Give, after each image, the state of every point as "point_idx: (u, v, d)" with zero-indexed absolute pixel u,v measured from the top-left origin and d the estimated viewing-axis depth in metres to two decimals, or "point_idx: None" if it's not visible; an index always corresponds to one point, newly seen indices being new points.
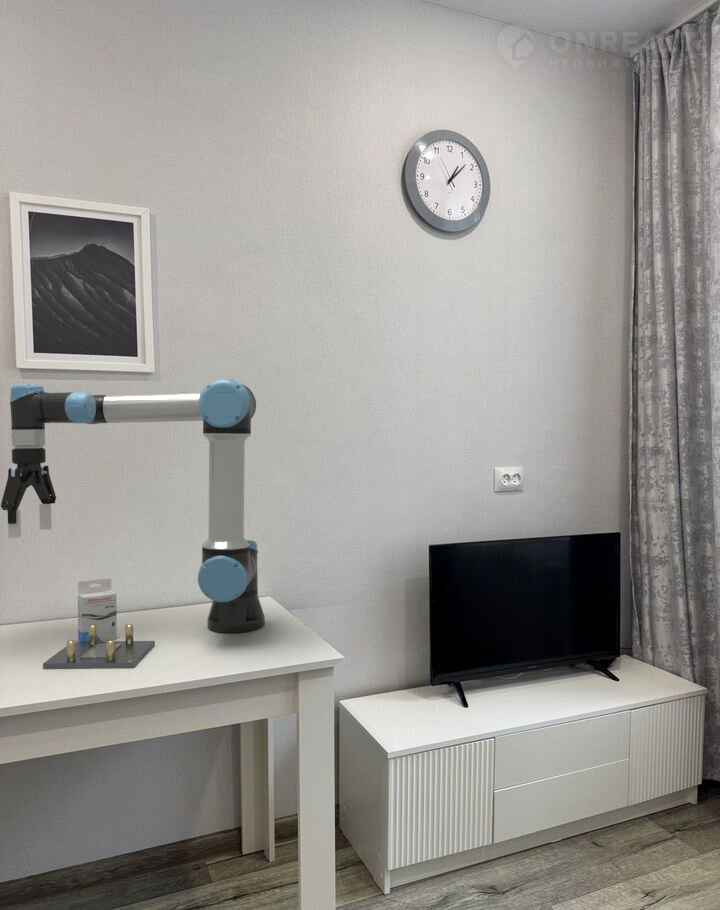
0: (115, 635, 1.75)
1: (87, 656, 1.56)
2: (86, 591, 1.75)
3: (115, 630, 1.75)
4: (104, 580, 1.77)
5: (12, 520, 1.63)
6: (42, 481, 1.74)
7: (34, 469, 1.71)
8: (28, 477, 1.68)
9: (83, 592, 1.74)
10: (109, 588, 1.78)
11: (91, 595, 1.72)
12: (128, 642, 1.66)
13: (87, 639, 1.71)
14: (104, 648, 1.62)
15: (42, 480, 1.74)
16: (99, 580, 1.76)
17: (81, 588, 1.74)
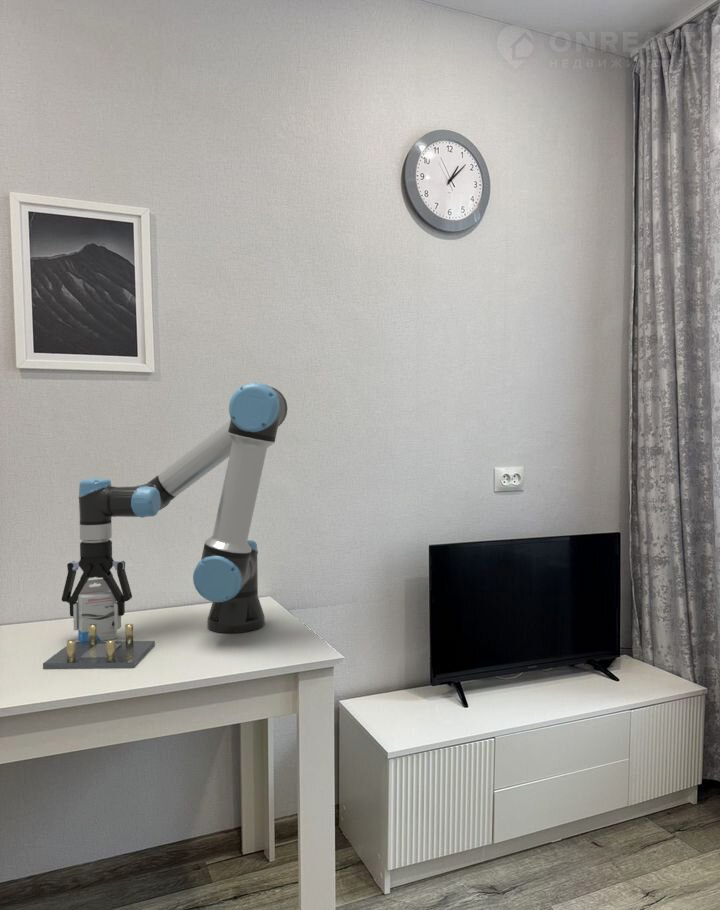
0: (115, 635, 1.75)
1: (87, 656, 1.56)
2: (86, 591, 1.75)
3: (115, 630, 1.75)
4: None
5: None
6: (104, 576, 1.72)
7: (97, 560, 1.73)
8: None
9: (83, 592, 1.74)
10: (109, 588, 1.78)
11: (91, 595, 1.72)
12: (128, 642, 1.66)
13: (87, 639, 1.71)
14: (104, 648, 1.62)
15: (104, 575, 1.72)
16: (99, 580, 1.76)
17: None
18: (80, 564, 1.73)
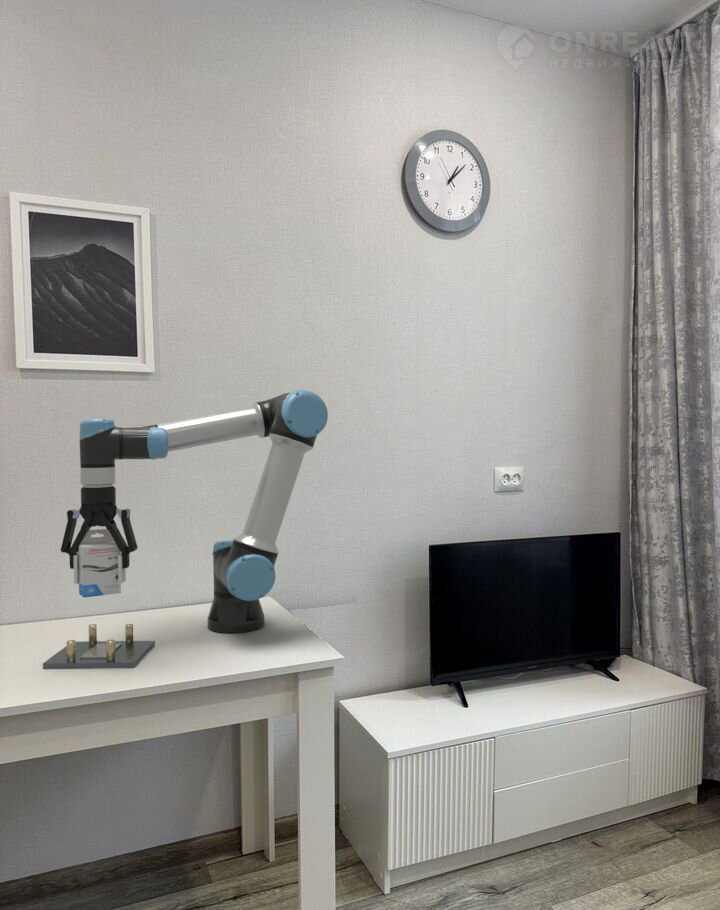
0: (119, 589, 1.60)
1: (87, 656, 1.56)
2: (87, 541, 1.61)
3: (119, 584, 1.60)
4: (107, 530, 1.63)
5: None
6: (107, 525, 1.58)
7: (99, 507, 1.58)
8: None
9: (84, 542, 1.60)
10: (112, 539, 1.64)
11: (93, 545, 1.58)
12: (128, 642, 1.66)
13: (88, 593, 1.56)
14: (104, 648, 1.62)
15: (107, 524, 1.58)
16: (102, 530, 1.62)
17: None
18: (81, 511, 1.58)
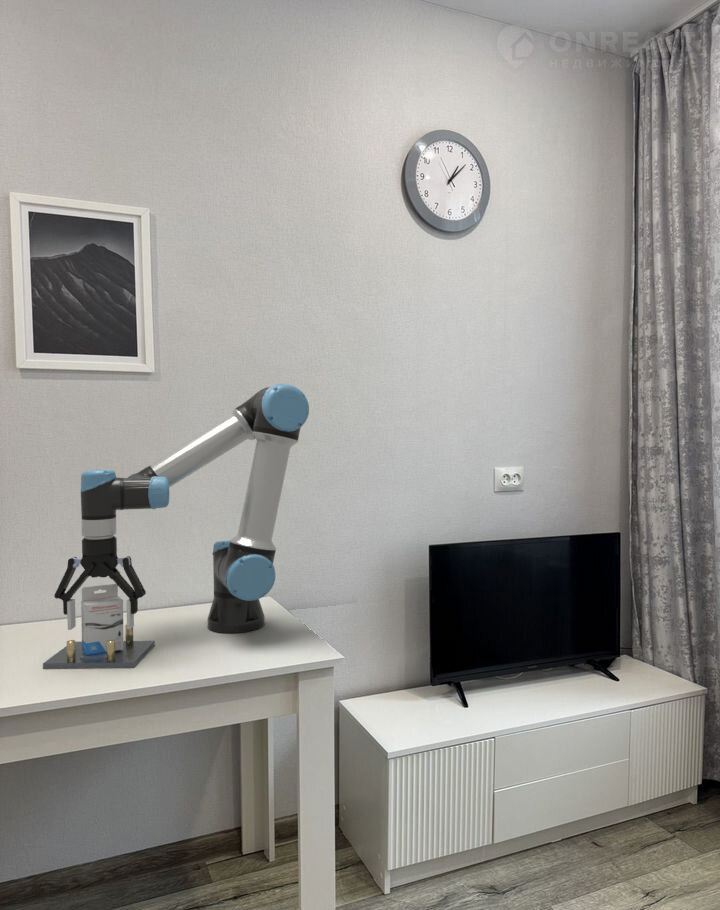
0: (122, 646, 1.61)
1: (87, 656, 1.56)
2: (90, 598, 1.61)
3: (122, 640, 1.61)
4: (110, 586, 1.63)
5: None
6: (110, 575, 1.58)
7: (100, 561, 1.59)
8: None
9: (87, 599, 1.61)
10: (115, 594, 1.64)
11: (96, 602, 1.58)
12: (128, 642, 1.66)
13: (91, 650, 1.57)
14: None
15: (110, 574, 1.58)
16: (104, 586, 1.62)
17: (84, 594, 1.60)
18: (82, 562, 1.59)
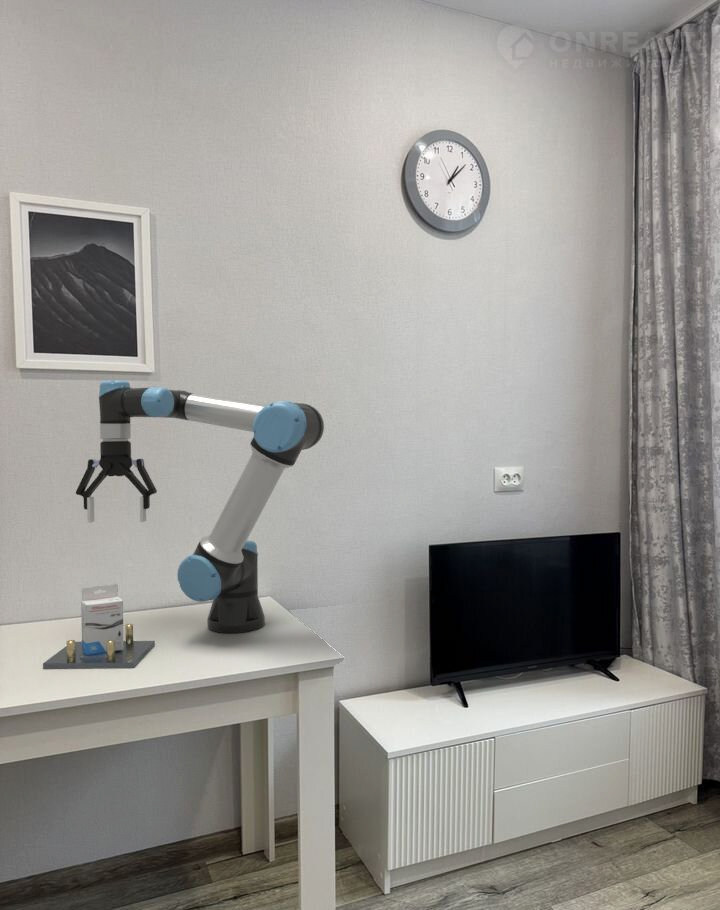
0: (122, 646, 1.61)
1: (87, 656, 1.56)
2: (90, 598, 1.61)
3: (122, 640, 1.61)
4: (110, 586, 1.63)
5: None
6: (125, 473, 1.79)
7: (116, 461, 1.79)
8: None
9: (87, 599, 1.61)
10: (115, 594, 1.64)
11: (96, 602, 1.58)
12: (128, 642, 1.66)
13: (91, 650, 1.57)
14: None
15: (125, 472, 1.79)
16: (104, 586, 1.62)
17: (84, 594, 1.60)
18: (100, 462, 1.79)
